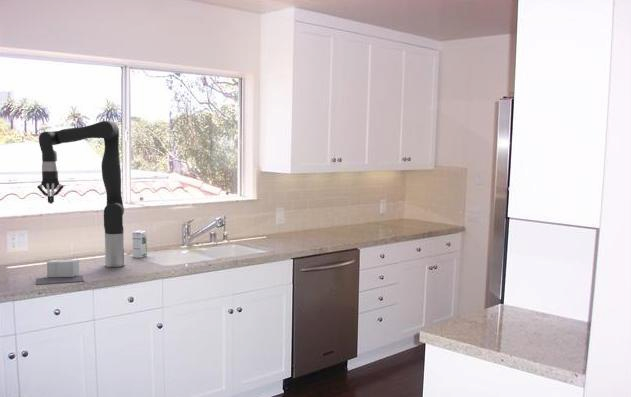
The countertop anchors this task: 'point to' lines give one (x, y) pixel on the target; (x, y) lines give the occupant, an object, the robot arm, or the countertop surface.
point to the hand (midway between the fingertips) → (51, 203)
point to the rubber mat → (59, 280)
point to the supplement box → (62, 268)
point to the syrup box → (139, 244)
